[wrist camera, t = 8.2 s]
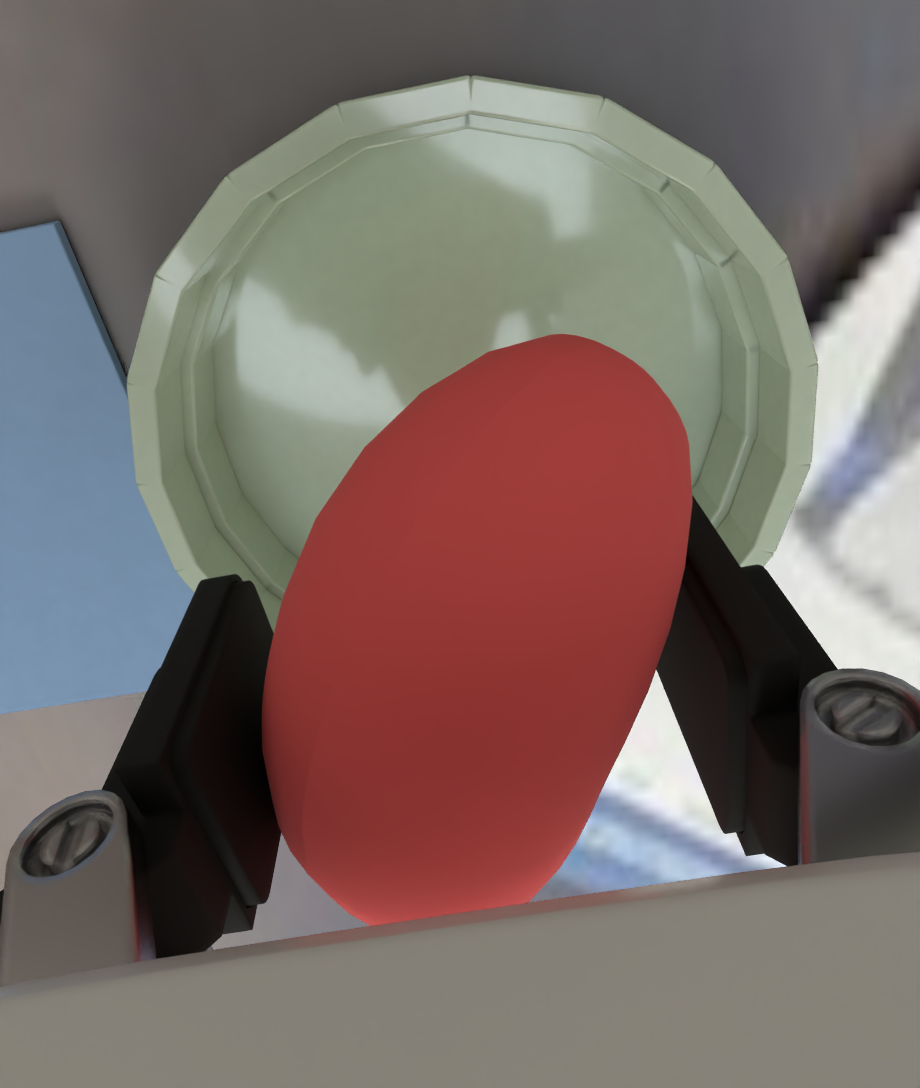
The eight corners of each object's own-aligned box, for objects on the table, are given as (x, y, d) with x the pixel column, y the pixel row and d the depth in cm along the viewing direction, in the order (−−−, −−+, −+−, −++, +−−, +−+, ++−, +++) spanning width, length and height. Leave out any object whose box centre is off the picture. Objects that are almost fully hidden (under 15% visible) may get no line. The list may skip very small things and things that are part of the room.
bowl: (84, 159, 17) (-6, 174, 14) (758, 16, 16) (846, -6, 13) (282, 665, 25) (257, 756, 21) (745, 591, 24) (797, 675, 20)
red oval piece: (187, 631, 14) (220, 1013, 11) (329, 217, 8) (506, 858, 5) (431, 624, 17) (514, 931, 14) (693, 309, 10) (964, 758, 7)
